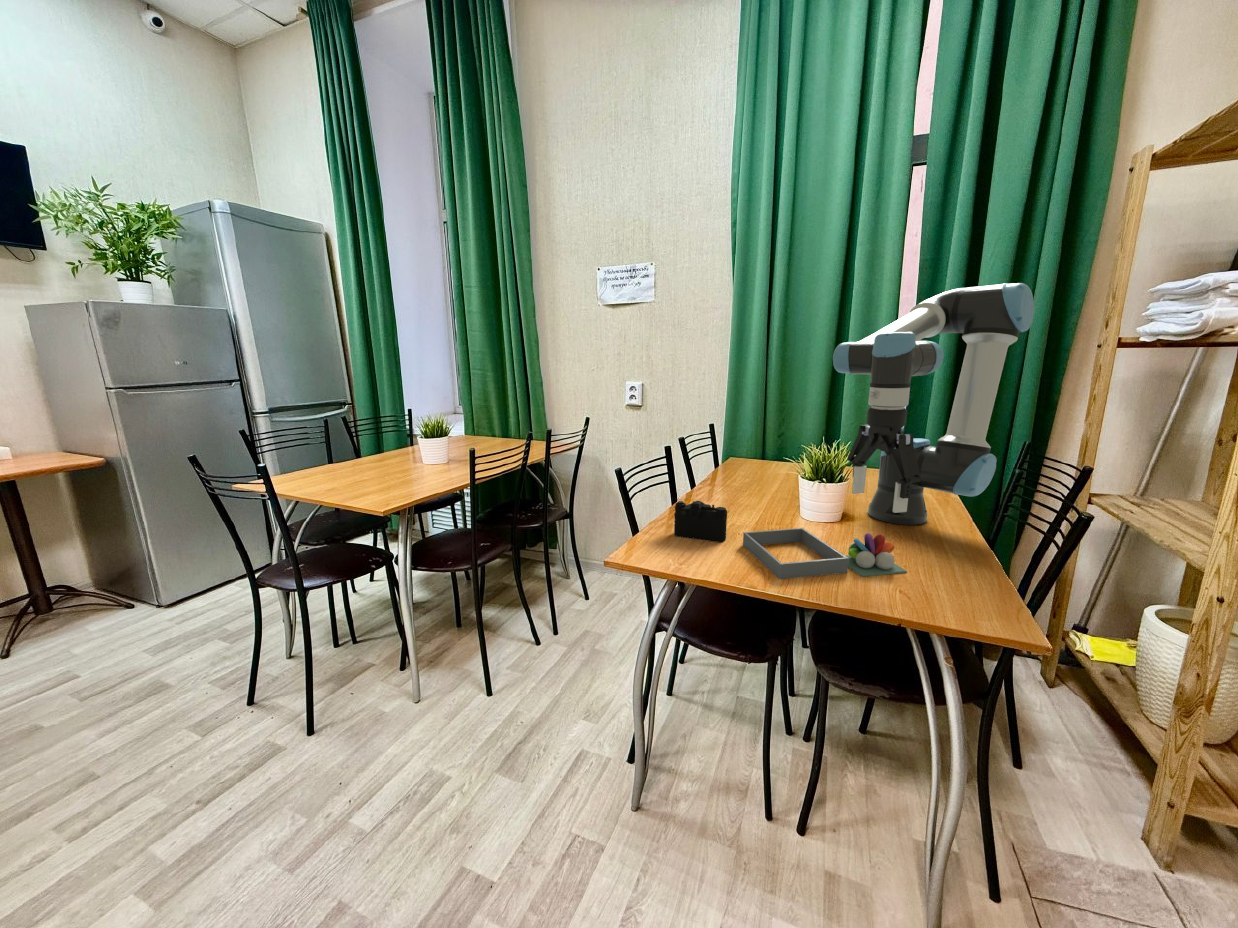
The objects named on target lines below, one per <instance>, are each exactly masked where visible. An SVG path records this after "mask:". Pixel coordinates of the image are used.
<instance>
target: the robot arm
mask: <svg viewBox="0 0 1238 928" xmlns="http://www.w3.org/2000/svg"><path fill="white" fill-rule="evenodd" d="M1034 315H1035V302H1034V295H1033V292H1032V289H1031V288H1030V287H1029V286H1028V285H1027V284H1026V283H1023V282H1017V283H1013V282H1012V283H1008V282H1004V283H1000V284H990V285H989V284H988V285H981V286H969V287H959V288H954V289H951V290H947V291H943V292H942V293H939V294H936V295H934V296H932V297H930V298H927V299H925V300H923V301H921V302H919V303H918V304H916V305H914V306H913V307H912V308H911V309H910V310H909V313H907V314H905V315H904V316H902V317H901V318H898V319H897V320H894V321H893V322H892V323H890V324H888V325H886V326H884V327H882V328H880V329H879V330H877V331H875V332H874V333H872V334H870V335H868V336H866V337H863V339H860V340H859V341H847V342H842V343H839V344H838V345H837V346H836V347H835V349H834V352H833V355H832V362H833V364H832V365H833V368H834V369H835V371H837V373H840V374H849V375H870V382H869V394H868V403H867V404H868V405H869V407H868V408H867V409H866V421H865V423H866V424H860V425H859V427H858V431H857V432H858V433H857V436H856V438H855V440H854V442H853V445H852V447H851V448H850V451H849V453H848V455H847V461H848V462H851V464H852V466H853V469H852V479H853V480H852V487H851V493H852V494H853V495H858V494H865V488H866V478H867V471H868V470H867V467H868V466H867V461H869V459H870V458H871V457H872V455H874V453H875V452H876V451H877V450H880V451H881V453H880V455H879V457H880V462H879V469H878V480H877V487H876V490H875V492H874V495H873V496H872V499H871V502H870V503H869V504H868V509H867V514H868V515H869V517H872V518H874V519H876V520H878V521H881V522H885V523H889V524H896V525H907V526H909V525H910V526H912V525H913V526H915V525H916V526H917V525H922V524H925V523H926V522H927V520H928V510H927V508H926V502H925V497H924V489H925V488H926V489H930V490H935V491H939V492H944V493H950V494H953V495H956V496H959V495H960V496H965V497H977V496H979V495H980V494H982V493H983V492H984V491H985V490H986V489H988V488H987V487H988V486H989V485H990V483H991V481H992V479H993V477H994V475H995V472H996V469H997V462H998V461H997V457H996V456H995V455H994V454H993V453H990V452H991V448H992V446H990V444H989V443H988V442H987V441H986V439H987V438H986V437H987V434H988V430H989V425H990V422H991V417H992V415H993V414H992V413H993V410H994V407H995V401H996V398H997V394H998V390H999V384H1000V381H1001V377H1002V373H1003V370H1004V366H1005V365H1004V364H1005V362H1006V358H1007V352H1008V348H1009V346H1011V345H1013V344H1015V343H1016V342H1017V341H1018V339H1019V336H1020V332H1021V333H1024V332H1027V331H1028V330H1029V329H1030V328H1031V326H1032V324H1033V321H1034ZM941 334H962V336H961V338H962V340H963V341H964V342H965V343H966V347H965V348H966V349H965V353H964V357H963V362H962V366H961V371H960V374H959V378H958V383H957V387H956V391H955V395H954V400H953V404H952V408H951V412H950V417H949V421H948V425H947V430H946V433H945V435H944V436H941V437H940V438H938V439H937V442H936V446H934V445H931V440H930V439H929V438H928V439H926V438H919V437H918V438H914V434H912V433H906V434H904V433H902V428H903V427H905V426H906V425H907V418H908V416H907V415H908V409H907V408H906V407H908V406H909V401H910V394H911V393H910V390H911V380H912V377H917V376H918V377H919V376H920V377H922V376H923V377H924V376H926V375H929V374H932V373H935V372H936V371H937V370H938V369H939V368H940V367H941V365H942V363H943V360H944V351H943V348H942V347H941V346H940V344H938V343H937V342H935V341H930V340H927V339H929V338H933V337H935V336H937V335H941ZM925 338H927V339H925ZM923 339H924V340H923Z"/></svg>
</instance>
